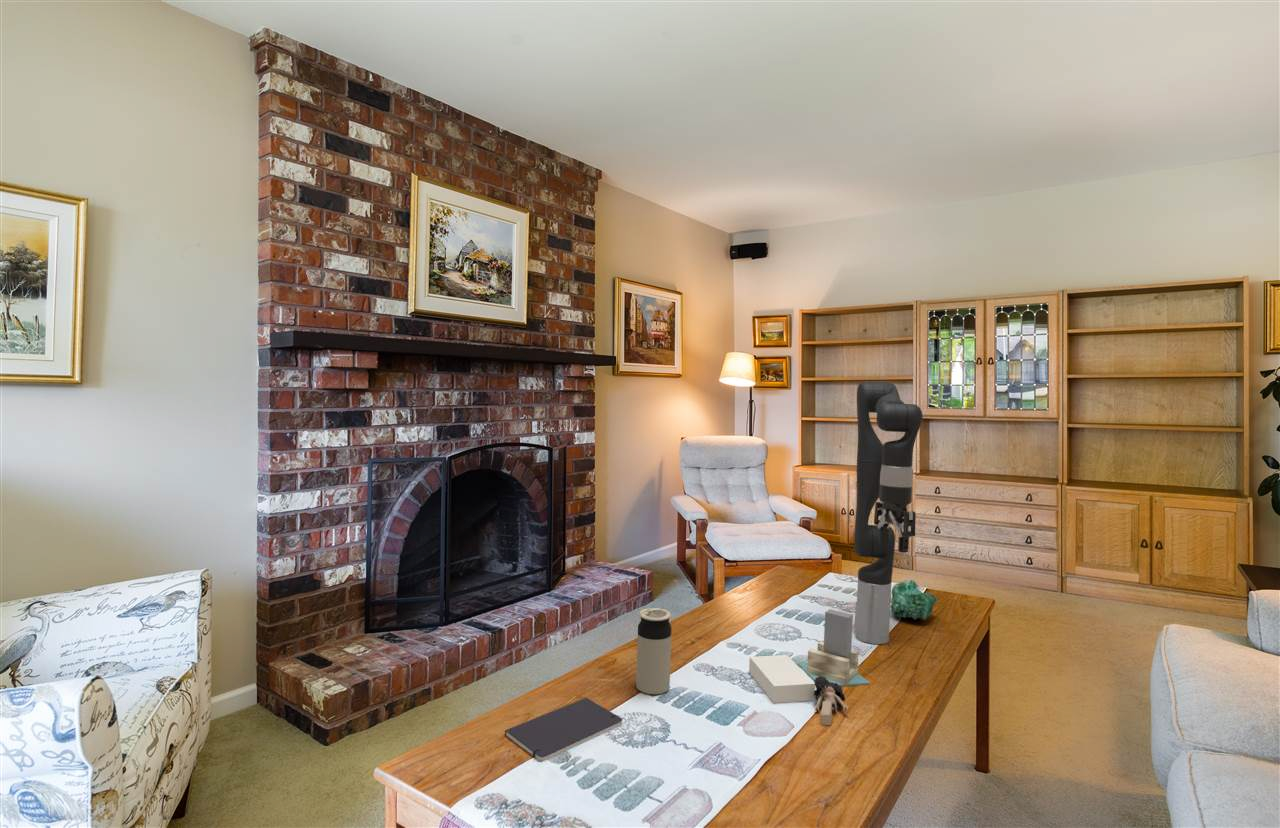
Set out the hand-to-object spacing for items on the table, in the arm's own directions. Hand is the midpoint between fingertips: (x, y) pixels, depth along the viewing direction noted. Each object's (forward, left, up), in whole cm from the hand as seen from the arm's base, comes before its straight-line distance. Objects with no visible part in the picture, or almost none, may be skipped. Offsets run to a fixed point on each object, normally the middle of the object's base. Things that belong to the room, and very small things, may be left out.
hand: (892, 547), depth 161 cm
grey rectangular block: (-3, -12, -31) cm, 34 cm away
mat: (-4, -13, -33) cm, 36 cm away
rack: (-4, -13, -33) cm, 35 cm away
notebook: (+14, -82, -34) cm, 90 cm away
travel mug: (-2, -60, -33) cm, 69 cm away
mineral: (-40, +33, -33) cm, 62 cm away
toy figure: (+13, -22, -34) cm, 42 cm away
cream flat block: (+1, -29, -33) cm, 44 cm away
